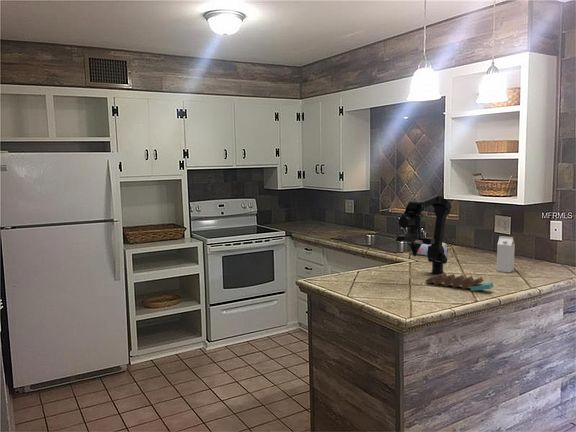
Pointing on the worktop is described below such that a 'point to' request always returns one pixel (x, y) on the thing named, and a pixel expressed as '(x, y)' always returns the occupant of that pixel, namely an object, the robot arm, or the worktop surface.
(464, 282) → the walnut domino
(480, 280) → the walnut domino
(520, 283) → the worktop surface
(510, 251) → the milk carton
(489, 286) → the teal domino
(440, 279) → the walnut domino
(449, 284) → the walnut domino
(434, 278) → the walnut domino
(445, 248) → the pencil case
